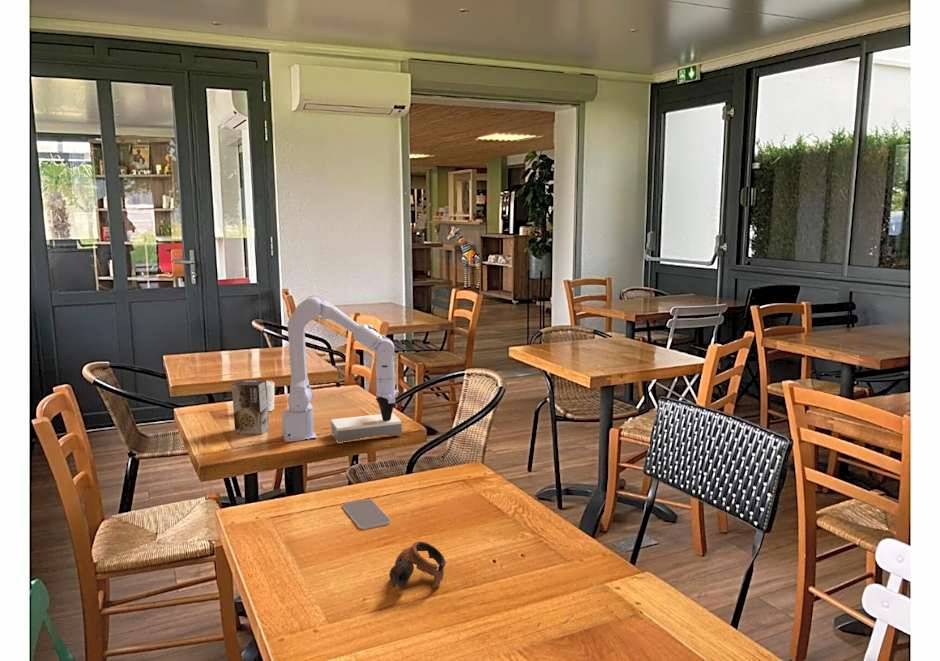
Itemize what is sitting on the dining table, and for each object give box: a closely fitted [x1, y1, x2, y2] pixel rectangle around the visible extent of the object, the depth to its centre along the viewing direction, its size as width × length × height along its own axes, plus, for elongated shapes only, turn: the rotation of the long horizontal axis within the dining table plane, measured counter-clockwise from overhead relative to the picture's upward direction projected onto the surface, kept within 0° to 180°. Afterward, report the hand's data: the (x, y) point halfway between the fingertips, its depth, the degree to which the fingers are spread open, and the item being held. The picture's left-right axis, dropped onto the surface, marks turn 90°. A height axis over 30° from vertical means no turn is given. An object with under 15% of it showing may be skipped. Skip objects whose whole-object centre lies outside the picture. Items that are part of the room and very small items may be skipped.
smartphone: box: [341, 498, 392, 531], centre depth 163 cm, size 7×1×15 cm
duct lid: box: [330, 412, 403, 431], centre depth 220 cm, size 20×10×1 cm, turn 112°
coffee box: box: [231, 379, 270, 435], centre depth 224 cm, size 9×6×16 cm
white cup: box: [266, 380, 275, 412], centre depth 248 cm, size 8×8×10 cm
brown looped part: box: [388, 541, 446, 589], centre depth 132 cm, size 12×10×8 cm
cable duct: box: [330, 421, 403, 442], centre depth 221 cm, size 20×10×4 cm, turn 112°
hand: (386, 420), depth 221 cm, fingers closed, pressing on duct lid
